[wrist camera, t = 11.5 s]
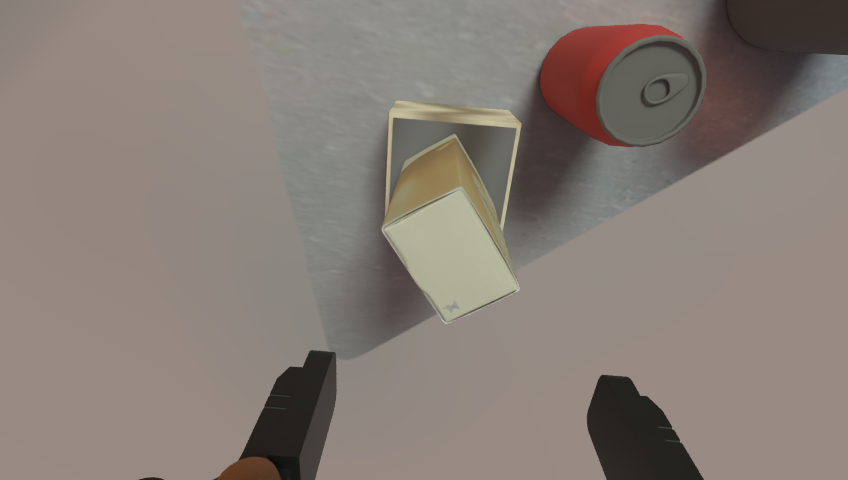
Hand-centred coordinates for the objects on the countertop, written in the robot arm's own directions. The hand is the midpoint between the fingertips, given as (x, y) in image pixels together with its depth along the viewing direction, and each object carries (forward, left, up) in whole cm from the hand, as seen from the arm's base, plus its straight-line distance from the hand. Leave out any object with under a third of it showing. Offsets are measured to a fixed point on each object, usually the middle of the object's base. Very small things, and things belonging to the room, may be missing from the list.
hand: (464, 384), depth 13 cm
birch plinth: (0, 0, -26) cm, 26 cm away
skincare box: (0, 0, -20) cm, 20 cm away
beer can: (-10, -8, -26) cm, 29 cm away
